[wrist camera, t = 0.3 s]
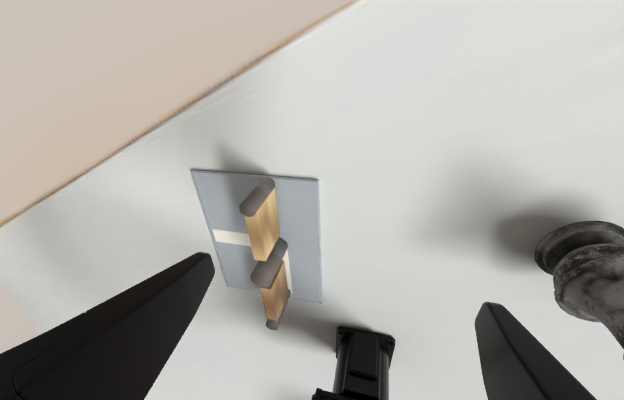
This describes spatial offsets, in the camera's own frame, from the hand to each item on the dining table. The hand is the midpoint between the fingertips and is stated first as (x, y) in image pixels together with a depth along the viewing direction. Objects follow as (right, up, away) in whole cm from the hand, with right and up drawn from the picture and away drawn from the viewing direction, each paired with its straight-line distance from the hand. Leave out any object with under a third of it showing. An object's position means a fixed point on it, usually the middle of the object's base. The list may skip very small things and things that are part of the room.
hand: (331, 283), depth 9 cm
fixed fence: (-4, -4, +18) cm, 19 cm away
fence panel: (-4, +2, +13) cm, 14 cm away
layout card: (-5, -2, +17) cm, 18 cm away
